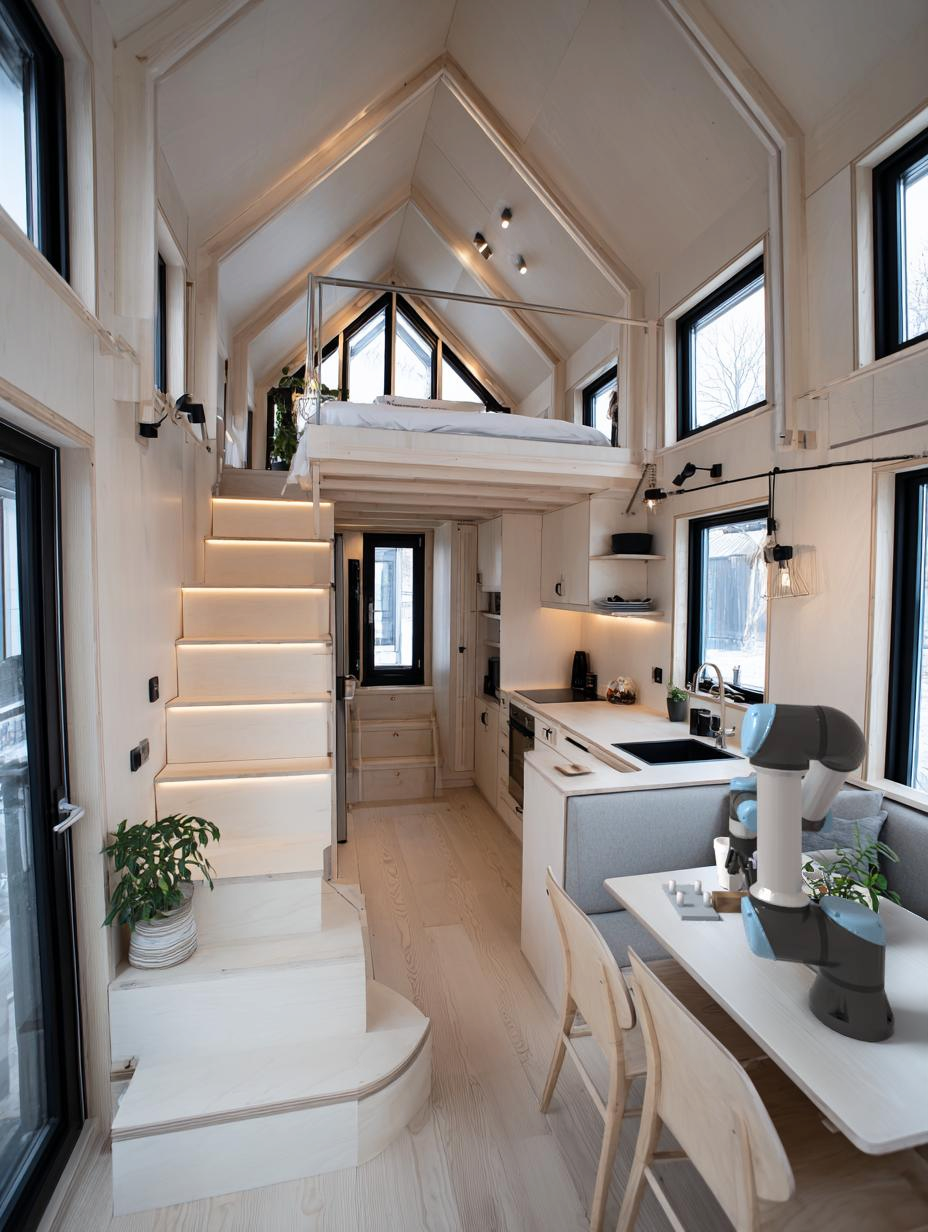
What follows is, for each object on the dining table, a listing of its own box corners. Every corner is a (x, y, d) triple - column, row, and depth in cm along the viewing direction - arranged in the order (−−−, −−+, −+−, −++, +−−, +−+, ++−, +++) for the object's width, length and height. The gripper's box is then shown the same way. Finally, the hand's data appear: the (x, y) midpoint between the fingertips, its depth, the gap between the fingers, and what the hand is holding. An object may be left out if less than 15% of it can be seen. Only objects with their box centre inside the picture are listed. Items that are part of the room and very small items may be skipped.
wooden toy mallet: (717, 914, 168) (718, 899, 168) (710, 904, 174) (710, 889, 174) (784, 915, 168) (784, 900, 168) (774, 905, 173) (774, 890, 173)
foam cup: (747, 883, 187) (747, 840, 187) (747, 894, 179) (748, 849, 179) (713, 877, 191) (714, 835, 191) (712, 888, 182) (713, 844, 183)
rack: (719, 920, 165) (719, 903, 165) (681, 920, 165) (682, 902, 165) (695, 888, 183) (696, 873, 183) (662, 888, 183) (662, 872, 183)
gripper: (779, 852, 158) (777, 933, 159) (739, 817, 182) (737, 887, 183) (749, 852, 158) (748, 933, 159) (713, 817, 182) (712, 887, 183)
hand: (742, 908), depth 171 cm, fingers open, 12 cm apart
